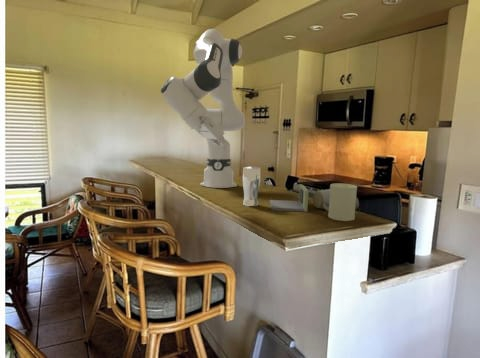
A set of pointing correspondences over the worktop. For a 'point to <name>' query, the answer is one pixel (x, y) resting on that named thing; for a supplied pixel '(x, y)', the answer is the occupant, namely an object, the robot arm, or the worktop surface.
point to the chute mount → (292, 202)
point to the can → (342, 202)
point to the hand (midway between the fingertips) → (222, 145)
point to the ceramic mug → (322, 199)
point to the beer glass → (251, 185)
